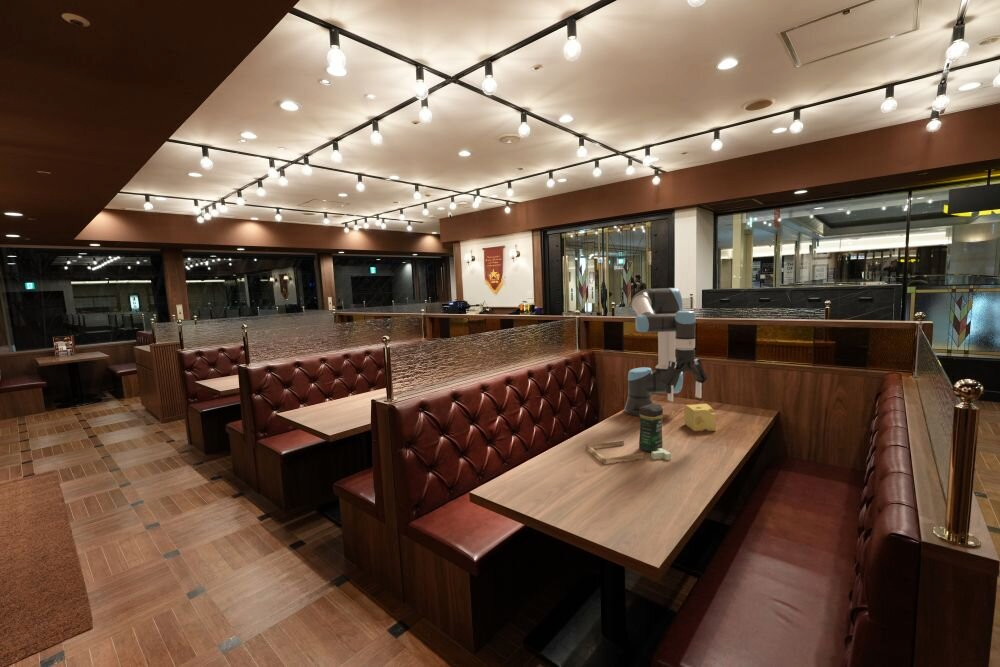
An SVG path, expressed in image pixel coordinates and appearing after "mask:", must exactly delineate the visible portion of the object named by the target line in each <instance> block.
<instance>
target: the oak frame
mask: <svg viewBox="0 0 1000 667" xmlns="http://www.w3.org/2000/svg"><path fill="white" fill-rule="evenodd" d="M620 445H621V446H624V445H625V440H624V439H618V440H613V441H612V440H611V441H604V442H597V443H596V442H595V443H590V444H589V443H587V444H585V449H586V450H587V452H588V453H590V455H592V456H593V457H594V458H596V459H597V460H598V461H599V462H600V463H601V462H602V463H601V464H602V465H610V464H609V463H611V464H616V462H618V463H623V461H624V462H630V460H631V461H637V460H636V459H638V460H643V459H644V453H643V452H638V453H631V454H625V455H617V456H612V457H610V456H609V457H604V456H603V455H602V454H600V453H599V452H598V451H597V450H598V449H604V448H611V447H612V448H613V446H614V447H619V446H620ZM621 446H620V447H621Z"/></svg>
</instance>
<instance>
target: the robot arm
mask: <svg viewBox="0 0 1000 667" xmlns="http://www.w3.org/2000/svg"><path fill="white" fill-rule="evenodd" d="M630 303H631V305H630V306H631V308H632V310H633V311H634V312H635V314H636V316H635V320H634V321H635V323H634V324H635V331H636V332H638V333H657V337H658V338H657V341H658V342H657V345H658V346H657V347H658V348H657V350H658V351H657V352H658V354H657V355H658V356H657V357H658V359H657V360H658V361H657V362H658V364H656V366H655V368H654V369H655V370H652V368H651V367H647V366H646V367H645V366H643V367H642V366H641V367H637V368H632V369H630V370H629V371H628V372H627V373H628V374H627V388H628V389H627V399H626V402H625V406H624V413H626V414H627V415H629V416H636V417H640V408H641V407H644V406H646V405H649V404H652V403H653V404H654V402H653V399H652V394H667V401H668V402H674V394H679V393H680V392H681V391H682V388H683V384H684V372H690V373H691V374H692V376H693V377H694V378H695V379H696V380H697V381H695V388H694V389H695V392H694V393H695V395H694V396H695V398H699V399H702V392H703V391H702V390H703V389H704V386H703V385H704V383H705V382H706V381H707V380H708V377H707V375H706V372H705V370H704V368H703V365H702V360H701V359H699V358H696V350H695V348H696V321H697V319H696V312H695V311H693V310H683V298H682V293H681V291H680V290H679V288H677V287H676V288H675V287H668V288H667V287H663V288H646V289H642V290H640V291H639V292H638V293H636V294H635V295H634V296H633V297H632V298H631V301H630Z"/></svg>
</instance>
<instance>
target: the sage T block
mask: <svg viewBox="0 0 1000 667" xmlns="http://www.w3.org/2000/svg"><path fill="white" fill-rule="evenodd" d="M671 453H672V452H669V451H668V450H666V449H664V448H663V447H662V448H659V449H657V451H654V452H650V454H651V455H650V457H651V459H653V460H660V459H663V460H666V461H670V460H672V454H671Z"/></svg>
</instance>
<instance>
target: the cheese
mask: <svg viewBox="0 0 1000 667" xmlns="http://www.w3.org/2000/svg"><path fill="white" fill-rule="evenodd" d="M683 416H684V417H683V418H684V424H685V425H686V426H687V427H688V428H690V429H691V430H692V431H694V432H704V431H709V432H710V431H717V422H716V419H717V415H716V414H715V410H714V409H713V407H711V405H709V404H707V403H699V404H698V403H697V404H685V406H684V410H683Z"/></svg>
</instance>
